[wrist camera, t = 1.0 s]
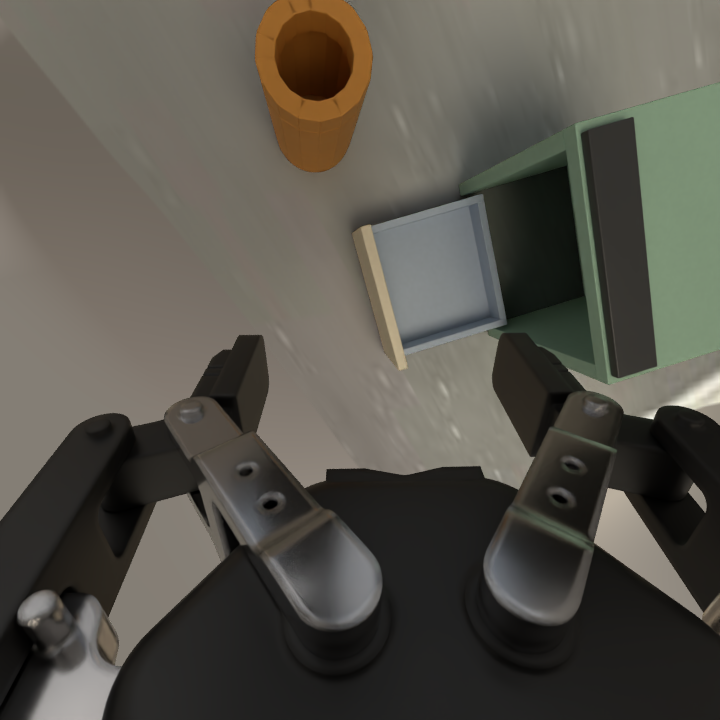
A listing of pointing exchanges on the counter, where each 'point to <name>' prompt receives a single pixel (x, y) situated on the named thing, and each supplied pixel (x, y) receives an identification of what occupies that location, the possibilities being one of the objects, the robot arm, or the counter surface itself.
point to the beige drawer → (431, 277)
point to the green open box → (633, 236)
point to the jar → (313, 77)
